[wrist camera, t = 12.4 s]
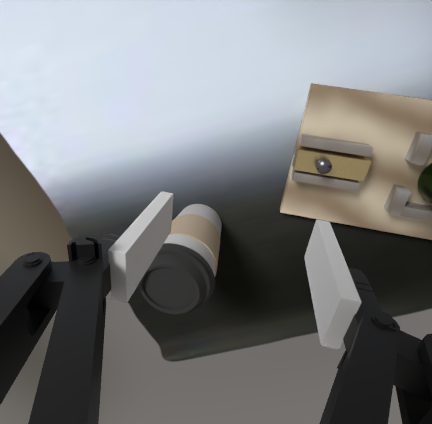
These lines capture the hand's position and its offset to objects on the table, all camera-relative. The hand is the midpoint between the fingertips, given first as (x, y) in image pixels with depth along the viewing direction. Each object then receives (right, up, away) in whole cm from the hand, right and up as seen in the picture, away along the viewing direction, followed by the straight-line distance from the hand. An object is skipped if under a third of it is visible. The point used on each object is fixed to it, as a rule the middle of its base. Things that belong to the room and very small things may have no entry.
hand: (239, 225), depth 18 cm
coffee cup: (-4, -1, +26) cm, 26 cm away
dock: (+20, +6, +17) cm, 27 cm away
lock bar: (+12, +7, +17) cm, 22 cm away
